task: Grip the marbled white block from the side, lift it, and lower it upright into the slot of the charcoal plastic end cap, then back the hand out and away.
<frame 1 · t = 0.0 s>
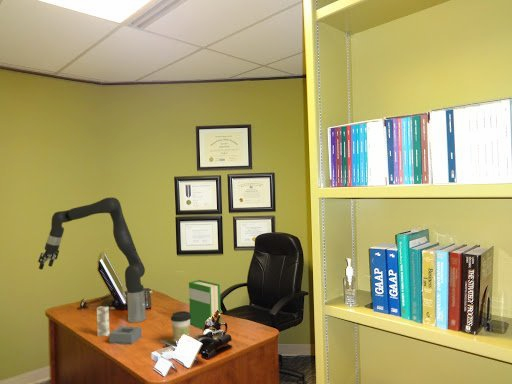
hand: (45, 267, 229), 31 cm above the table, tool tilted 20°, fingers open, 8 cm apart
coffee cup: (181, 344, 186), on the table
hardback book: (205, 326, 209), on the table
marbled white block: (103, 335, 201), on the table
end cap: (125, 340, 194), on the table
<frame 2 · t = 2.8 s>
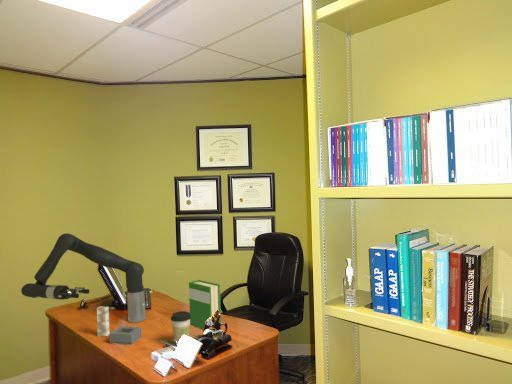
hand: (83, 293, 203), 22 cm above the table, tool horizontal, fingers open, 8 cm apart
nothing on the table moved.
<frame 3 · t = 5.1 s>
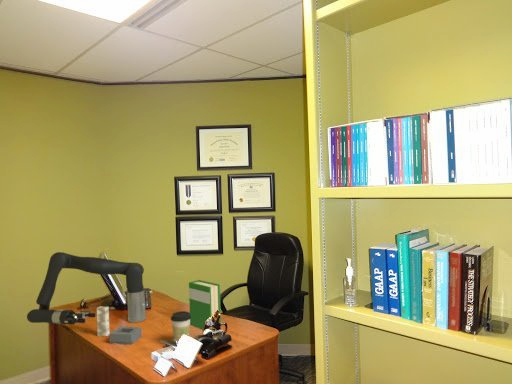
hand: (90, 317, 202), 9 cm above the table, tool horizontal, fingers open, 8 cm apart
nothing on the table moved.
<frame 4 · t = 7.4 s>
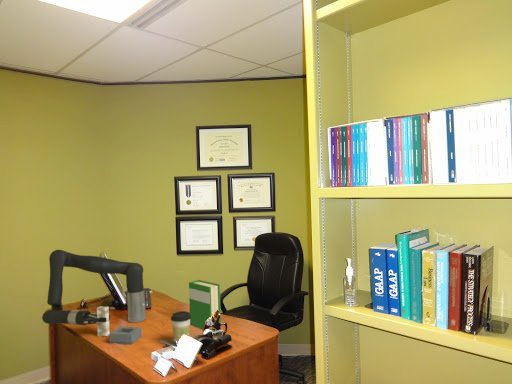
hand: (107, 318, 200), 9 cm above the table, tool horizontal, fingers closed on marbled white block, 3 cm apart
marbled white block: (103, 335, 201), on the table, touching gripper
everything else where it was.
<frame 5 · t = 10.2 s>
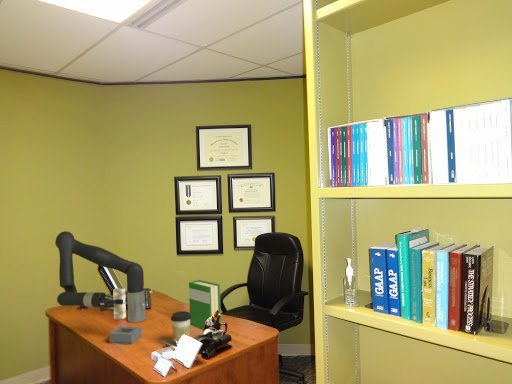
hand: (124, 300, 194), 20 cm above the table, tool horizontal, fingers closed on marbled white block, 3 cm apart
marbled white block: (120, 318, 195), point 11 cm above the table, touching gripper
everything else where it was.
when the fingers open (11 cm above the table, at t = 12.9 s): marbled white block stays where it is, resting on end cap.
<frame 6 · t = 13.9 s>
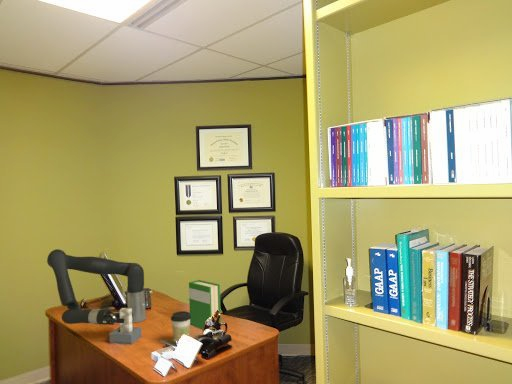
hand: (128, 317, 193), 12 cm above the table, tool horizontal, fingers open, 8 cm apart
marbled white block: (126, 338, 193), point 1 cm above the table, touching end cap
everything else where it was.
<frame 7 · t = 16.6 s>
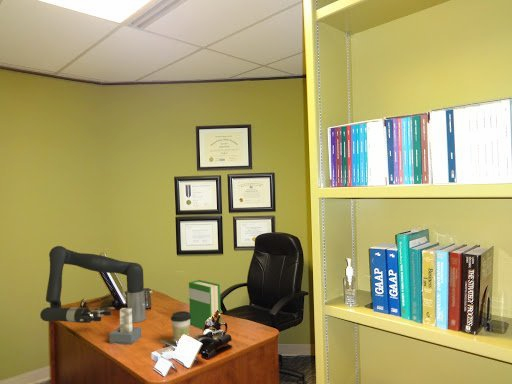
hand: (105, 316, 196), 12 cm above the table, tool horizontal, fingers open, 8 cm apart
nothing on the table moved.
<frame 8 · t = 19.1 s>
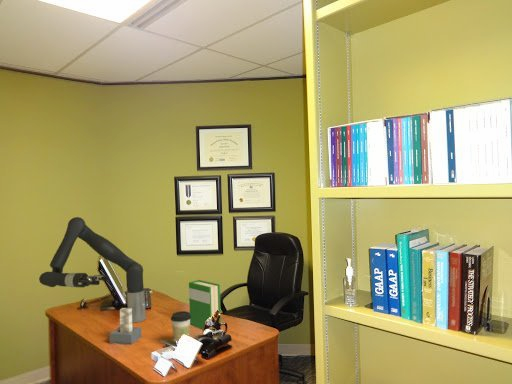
hand: (104, 280, 197), 30 cm above the table, tool horizontal, fingers open, 8 cm apart
nothing on the table moved.
at the end: marbled white block 0.5 cm off-centre on the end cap, point 1.0 cm above the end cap's base; marbled white block tilted 0°; the gripper is holding nothing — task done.
